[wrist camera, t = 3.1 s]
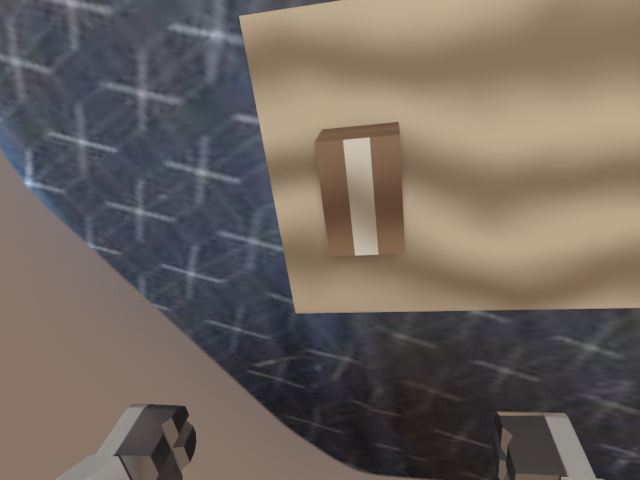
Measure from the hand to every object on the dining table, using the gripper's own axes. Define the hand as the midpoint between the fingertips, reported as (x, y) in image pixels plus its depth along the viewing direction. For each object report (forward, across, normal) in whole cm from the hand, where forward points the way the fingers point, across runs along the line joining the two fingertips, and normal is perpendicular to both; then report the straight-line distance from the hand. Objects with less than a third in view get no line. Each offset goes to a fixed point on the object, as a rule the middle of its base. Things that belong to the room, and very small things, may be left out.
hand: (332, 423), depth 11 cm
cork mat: (+18, -6, 0) cm, 19 cm away
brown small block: (+18, 0, 0) cm, 18 cm away
